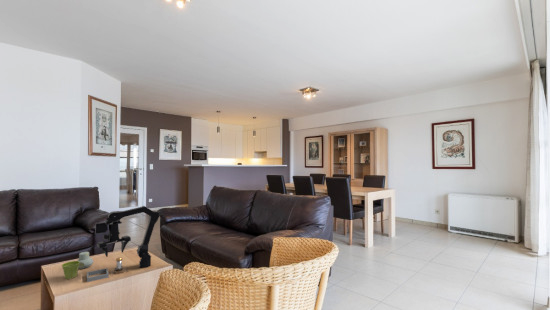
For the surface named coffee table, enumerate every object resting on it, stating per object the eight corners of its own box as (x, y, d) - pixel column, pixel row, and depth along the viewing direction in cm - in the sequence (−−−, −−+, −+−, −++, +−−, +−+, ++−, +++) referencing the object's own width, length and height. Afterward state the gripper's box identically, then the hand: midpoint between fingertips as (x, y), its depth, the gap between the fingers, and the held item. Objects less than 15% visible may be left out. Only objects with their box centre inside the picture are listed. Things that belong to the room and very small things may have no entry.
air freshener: (95, 264, 194) (95, 250, 194) (87, 269, 185) (87, 255, 186) (80, 264, 194) (81, 250, 194) (71, 269, 186) (72, 254, 186)
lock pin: (122, 270, 181) (122, 256, 182) (122, 272, 178) (122, 258, 179) (115, 271, 179) (115, 258, 179) (116, 273, 176) (116, 259, 176)
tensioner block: (126, 267, 188) (126, 264, 188) (128, 273, 179) (128, 269, 179) (109, 271, 182) (109, 268, 182) (110, 276, 173) (110, 273, 173)
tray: (107, 272, 180) (107, 268, 180) (108, 278, 170) (108, 273, 171) (86, 277, 173) (86, 272, 173) (87, 283, 164) (87, 278, 164)
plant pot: (78, 278, 172) (78, 264, 172) (60, 281, 167) (60, 267, 167) (80, 272, 180) (80, 259, 180) (63, 276, 175) (63, 262, 175)
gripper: (124, 226, 190) (124, 248, 190) (93, 232, 175) (94, 256, 175) (130, 228, 183) (131, 251, 183) (99, 235, 168) (100, 260, 168)
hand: (114, 254), depth 177 cm, fingers open, 9 cm apart
